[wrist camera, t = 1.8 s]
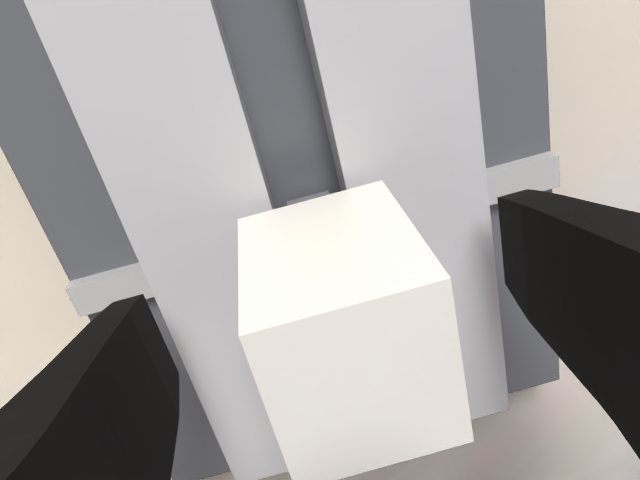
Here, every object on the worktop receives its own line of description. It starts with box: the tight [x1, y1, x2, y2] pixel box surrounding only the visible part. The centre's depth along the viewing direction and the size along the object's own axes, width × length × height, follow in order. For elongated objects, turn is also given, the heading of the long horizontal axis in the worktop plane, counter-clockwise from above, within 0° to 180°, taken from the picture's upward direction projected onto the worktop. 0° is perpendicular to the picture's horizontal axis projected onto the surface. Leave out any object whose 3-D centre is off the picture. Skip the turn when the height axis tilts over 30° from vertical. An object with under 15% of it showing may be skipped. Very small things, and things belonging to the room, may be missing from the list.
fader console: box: [0, 0, 560, 480], centre depth 11 cm, size 24×12×3 cm, turn 13°
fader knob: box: [238, 180, 474, 480], centre depth 11 cm, size 3×3×6 cm
